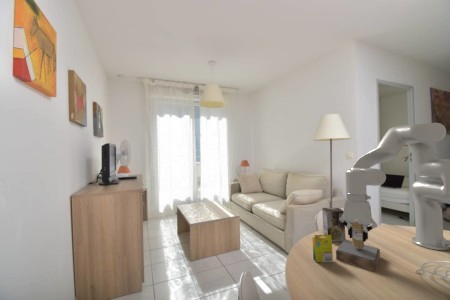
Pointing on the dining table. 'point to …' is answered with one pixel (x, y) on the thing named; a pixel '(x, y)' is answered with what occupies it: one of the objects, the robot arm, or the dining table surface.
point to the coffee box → (333, 224)
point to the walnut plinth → (358, 255)
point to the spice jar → (357, 235)
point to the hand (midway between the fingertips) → (357, 238)
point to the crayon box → (322, 248)
